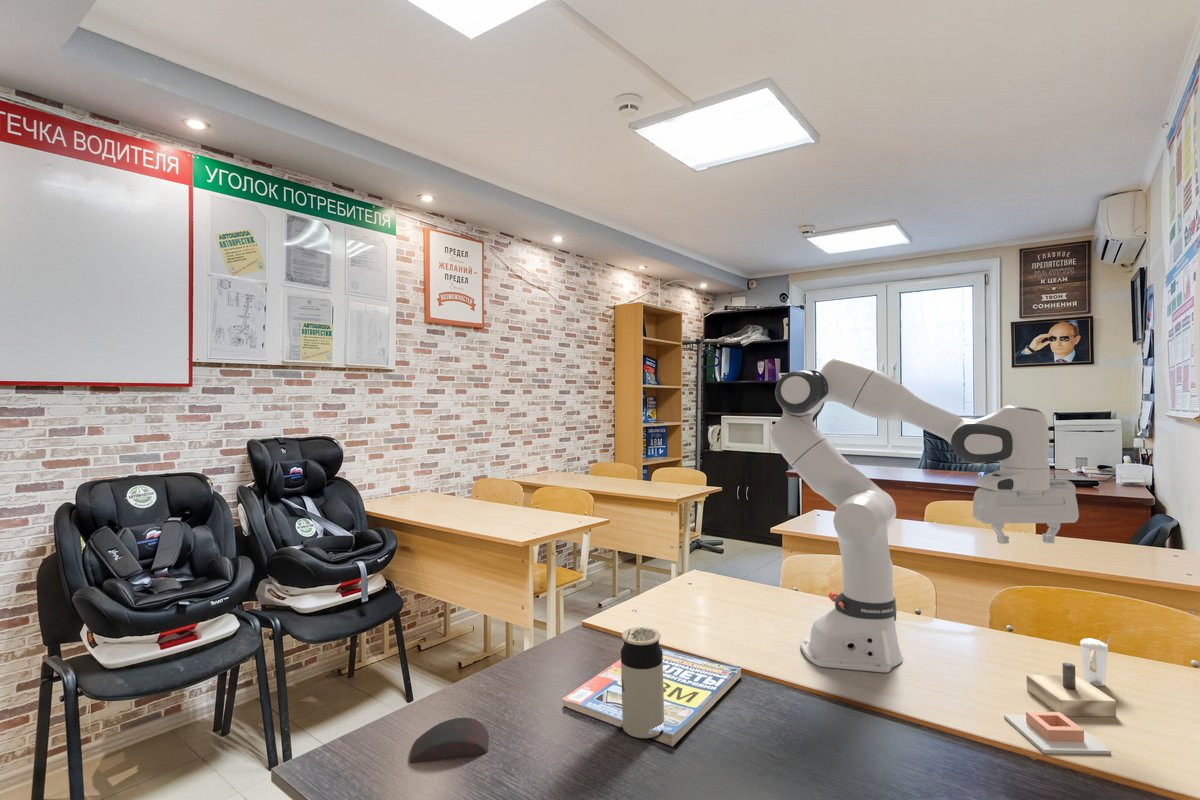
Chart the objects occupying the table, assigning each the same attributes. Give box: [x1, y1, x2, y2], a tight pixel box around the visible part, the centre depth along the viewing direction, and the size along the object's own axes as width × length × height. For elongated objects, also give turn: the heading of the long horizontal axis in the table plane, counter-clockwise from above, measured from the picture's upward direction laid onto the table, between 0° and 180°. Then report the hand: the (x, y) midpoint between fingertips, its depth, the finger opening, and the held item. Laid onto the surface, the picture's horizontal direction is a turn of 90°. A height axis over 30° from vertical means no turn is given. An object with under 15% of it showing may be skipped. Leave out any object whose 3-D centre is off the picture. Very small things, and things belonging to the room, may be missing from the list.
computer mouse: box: [409, 717, 490, 764], centre depth 108 cm, size 8×14×4 cm, turn 99°
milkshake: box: [1079, 636, 1112, 687], centre depth 124 cm, size 4×5×10 cm
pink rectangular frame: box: [1025, 711, 1085, 742], centre depth 106 cm, size 6×6×2 cm
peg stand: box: [1026, 662, 1117, 717], centre depth 117 cm, size 10×10×8 cm
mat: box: [1003, 714, 1112, 755], centre depth 106 cm, size 11×11×1 cm
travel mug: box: [620, 626, 665, 739], centre depth 112 cm, size 8×8×18 cm
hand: (1025, 543), depth 128 cm, fingers open, 8 cm apart
